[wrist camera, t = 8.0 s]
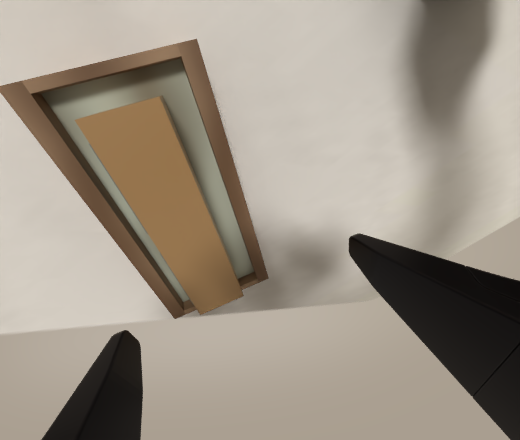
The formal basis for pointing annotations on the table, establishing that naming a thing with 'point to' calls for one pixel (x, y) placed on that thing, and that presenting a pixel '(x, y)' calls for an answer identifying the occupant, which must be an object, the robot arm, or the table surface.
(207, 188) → the brown picture frame
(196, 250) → the tan rectangular block
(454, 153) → the table surface
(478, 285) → the robot arm
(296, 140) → the table surface
